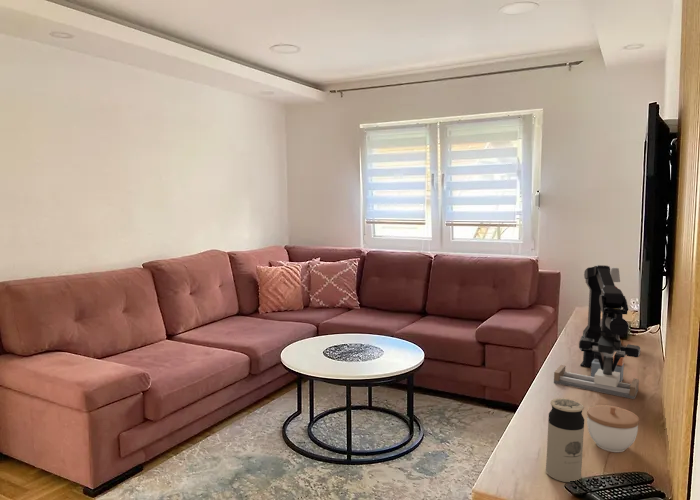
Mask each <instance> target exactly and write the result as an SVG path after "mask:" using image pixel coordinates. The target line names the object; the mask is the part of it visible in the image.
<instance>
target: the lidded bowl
mask: <svg viewBox="0 0 700 500" xmlns="http://www.w3.org/2000/svg"><path fill="white" fill-rule="evenodd" d="M586 415H587V416H586V424H587V425H586V426H587V431H588V433H589V435H590V438H591V439H592V440H593V442H594V443H595V444H596V446H597V447H598V449H599V448H600V449H602V450H604V451H606V452H609V453H624V452H625V451H626V450H627V449H628V448H630V447H631V446H632V445H633V444H634V442H635V441H636V438H637V435H638V432H639V423H640V418H639V416H638V415H637V414H635V413H634V412H632V411H631V410H628V409H626V408H623V407H618V406H614V405H608V404H607V405H606V404H596V405H592V406H589V407H588V408H587V410H586Z"/></svg>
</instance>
